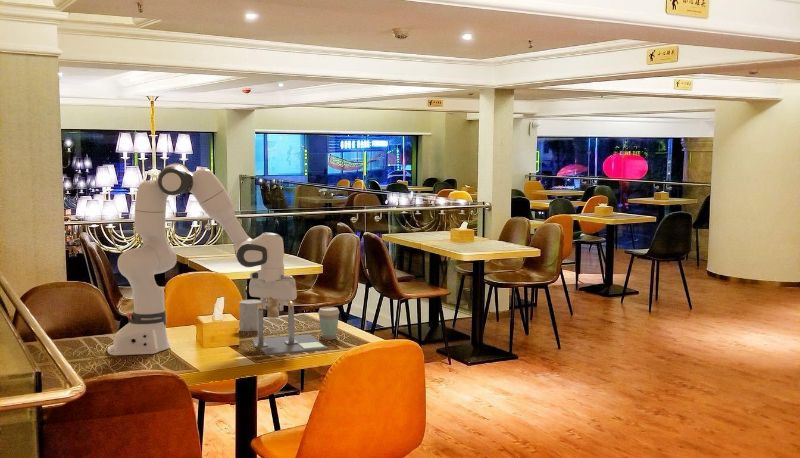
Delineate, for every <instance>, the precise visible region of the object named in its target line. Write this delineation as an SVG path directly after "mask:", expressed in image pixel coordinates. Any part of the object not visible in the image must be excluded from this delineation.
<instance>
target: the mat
mask: <svg viewBox="0 0 800 458" xmlns="http://www.w3.org/2000/svg"><path fill="white" fill-rule="evenodd" d="M294 340H296V341H297V342H298V344H294V345H287V344H286V343H284V341H289V337H288V335H287V336H285V335H284V336H274V337H263V341H264V343H266V344H267V345H268V347H261V348H259V349H260V350H261V351H262V352H263V355H264V356H265V357H267V356H276V355H277V356H278V355H289V354H288V353H290V354H300V352H301V353H310V352H320V351H329V347H328V346H326V344H324V343H323V342H321V341H320V340H318V339H317V338H316V337H314V336H313V335H312V334H298V335H297V334H296V335H294ZM251 341H252V342H253V344H256V343H258V338H253V339H251ZM310 342H320V343H321V344H322V345H323V346H325V348H314V349H303V348H302V347H301V346H300V345H299V343H310Z"/></svg>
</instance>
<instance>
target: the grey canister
mask: <svg viewBox="0 0 800 458" xmlns="http://www.w3.org/2000/svg"><path fill="white" fill-rule="evenodd" d="M259 304H262V302H261V300H260V299H255V298H254V299H253V298H252V299H251V298H250V299H242V300H239V304H238V305H239V332H254V331H255V332H258V323H257V310H259V309H258V308H257V306H258V305H259ZM262 305H263V304H262Z"/></svg>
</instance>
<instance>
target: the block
mask: <svg viewBox="0 0 800 458" xmlns="http://www.w3.org/2000/svg"><path fill="white" fill-rule="evenodd" d="M266 303H267V309H266V311H267V312H266V313H267V319H274V318H275V319H278V318H279V316H280V311H278V306H280V299H273V298H272V297H267V298H266Z"/></svg>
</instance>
